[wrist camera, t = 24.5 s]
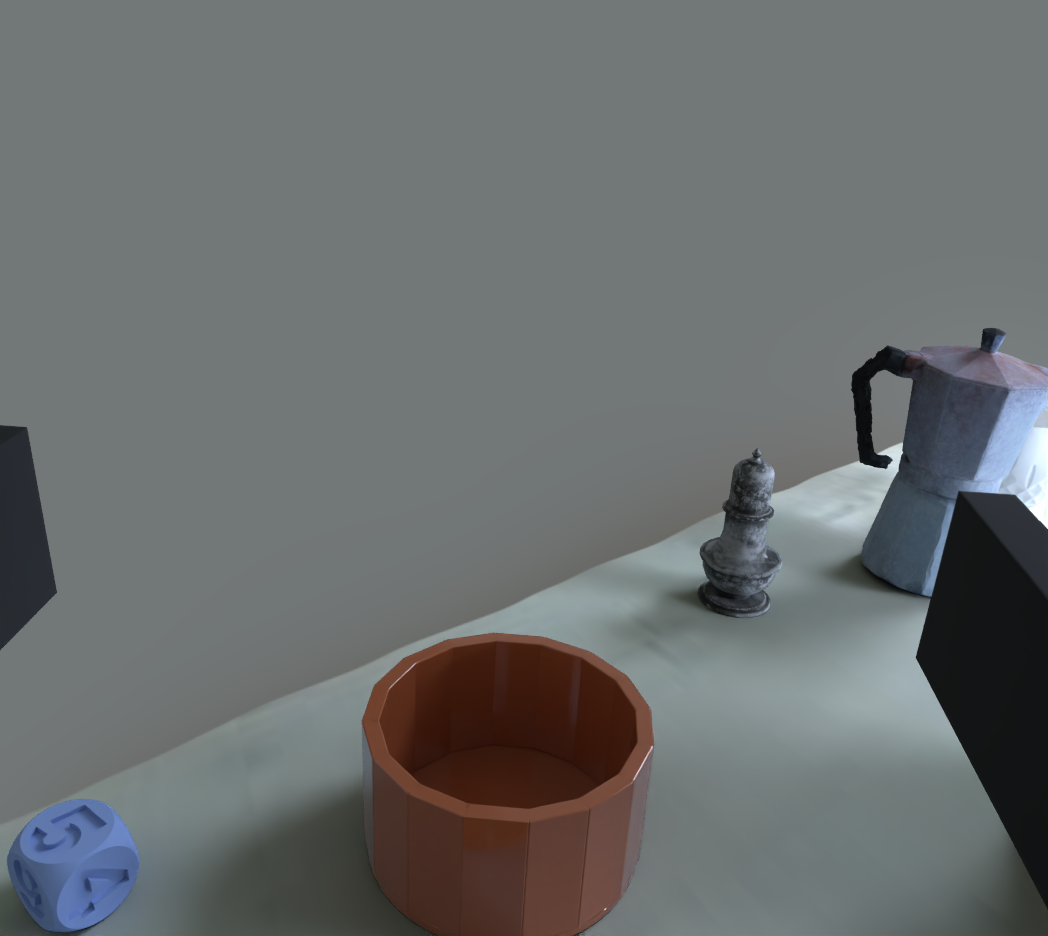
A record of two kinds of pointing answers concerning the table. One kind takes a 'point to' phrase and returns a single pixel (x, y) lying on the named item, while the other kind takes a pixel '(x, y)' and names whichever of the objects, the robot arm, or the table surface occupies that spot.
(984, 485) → the moka pot
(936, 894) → the table surface
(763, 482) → the salt shaker
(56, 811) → the decorative dice
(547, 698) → the pot
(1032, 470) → the white cup
